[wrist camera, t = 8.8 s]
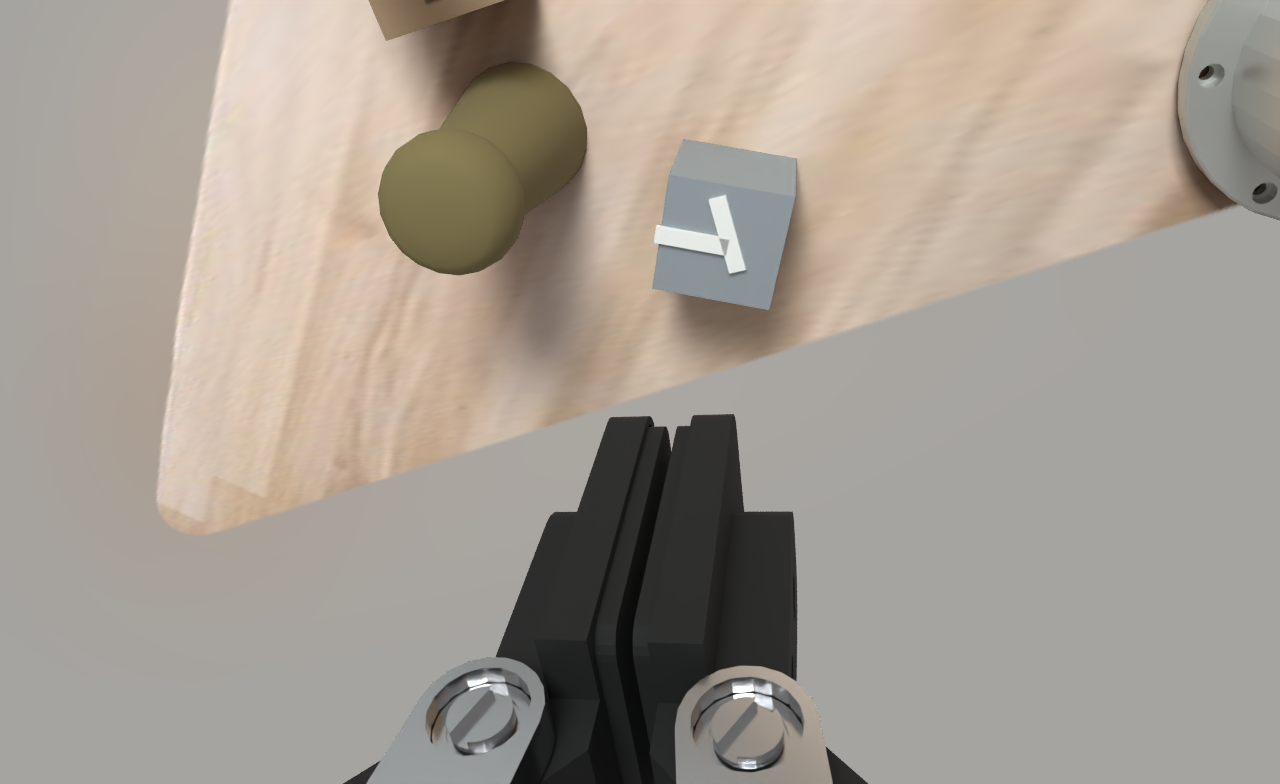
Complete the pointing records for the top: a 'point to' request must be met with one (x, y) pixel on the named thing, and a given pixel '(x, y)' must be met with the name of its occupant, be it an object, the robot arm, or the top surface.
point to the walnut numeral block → (419, 13)
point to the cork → (483, 169)
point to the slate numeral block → (724, 223)
